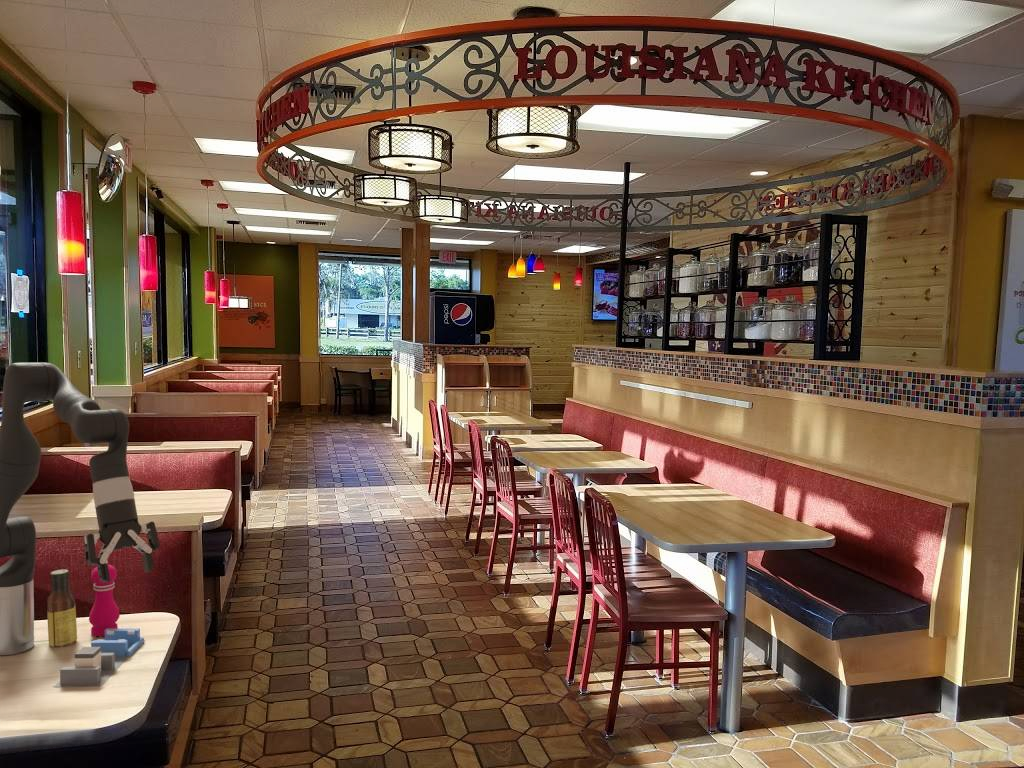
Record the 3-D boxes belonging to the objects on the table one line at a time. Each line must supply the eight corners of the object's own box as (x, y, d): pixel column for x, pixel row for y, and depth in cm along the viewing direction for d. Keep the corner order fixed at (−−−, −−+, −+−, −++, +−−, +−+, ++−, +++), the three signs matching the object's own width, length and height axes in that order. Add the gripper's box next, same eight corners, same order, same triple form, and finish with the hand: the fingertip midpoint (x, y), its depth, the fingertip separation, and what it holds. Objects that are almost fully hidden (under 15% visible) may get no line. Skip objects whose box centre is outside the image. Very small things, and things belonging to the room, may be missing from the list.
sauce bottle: (82, 644, 197) (82, 568, 195) (66, 654, 190) (65, 576, 189) (58, 642, 197) (58, 567, 196) (41, 652, 191) (40, 574, 190)
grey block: (74, 679, 173) (74, 654, 173) (83, 672, 177) (83, 646, 177) (93, 679, 174) (93, 653, 173) (101, 671, 178) (101, 646, 177)
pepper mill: (85, 639, 200) (85, 564, 199) (92, 628, 207) (92, 556, 205) (116, 636, 202) (116, 562, 201) (122, 626, 209) (121, 554, 207)
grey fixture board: (53, 693, 170) (53, 671, 169) (105, 646, 196) (104, 627, 195) (100, 692, 171) (100, 671, 170) (145, 645, 197) (145, 626, 196)
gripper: (141, 498, 170) (154, 570, 168) (72, 510, 159) (84, 587, 157) (155, 492, 165) (169, 567, 163) (85, 504, 154) (98, 584, 152)
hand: (127, 577), depth 160 cm, fingers open, 8 cm apart
